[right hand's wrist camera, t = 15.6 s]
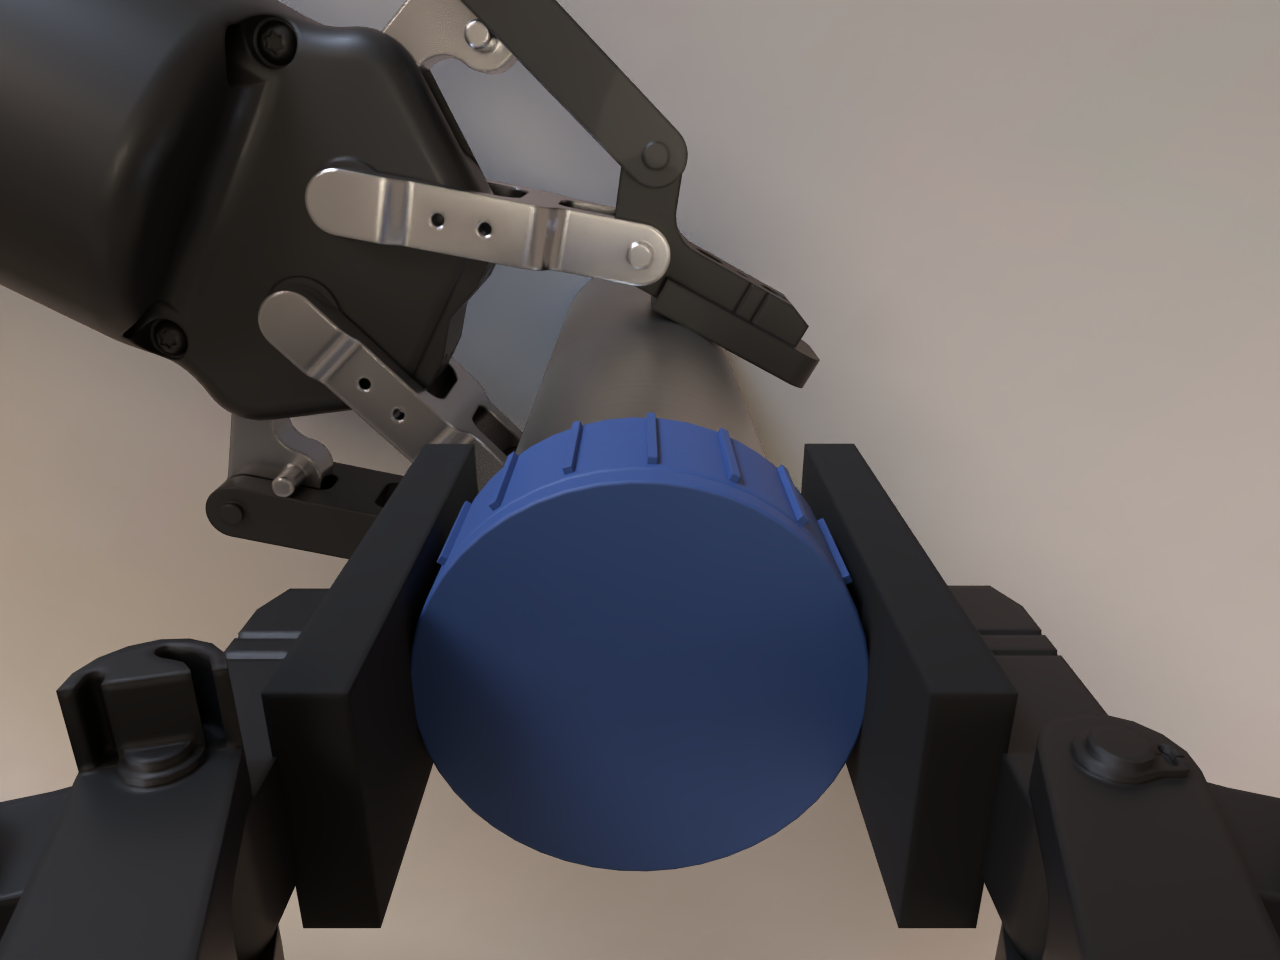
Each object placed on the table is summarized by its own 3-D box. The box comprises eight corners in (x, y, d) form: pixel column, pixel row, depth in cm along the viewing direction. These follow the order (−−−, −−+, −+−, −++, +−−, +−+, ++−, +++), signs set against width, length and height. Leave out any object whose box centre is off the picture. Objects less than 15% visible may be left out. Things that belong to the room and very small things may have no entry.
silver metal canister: (594, 431, 28) (532, 853, 12) (540, 292, 26) (386, 560, 10) (734, 385, 27) (869, 761, 11) (688, 240, 25) (769, 437, 10)
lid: (919, 588, 12) (975, 683, 10) (646, 819, 14) (647, 943, 12) (630, 322, 11) (628, 368, 9) (362, 609, 12) (307, 706, 10)
